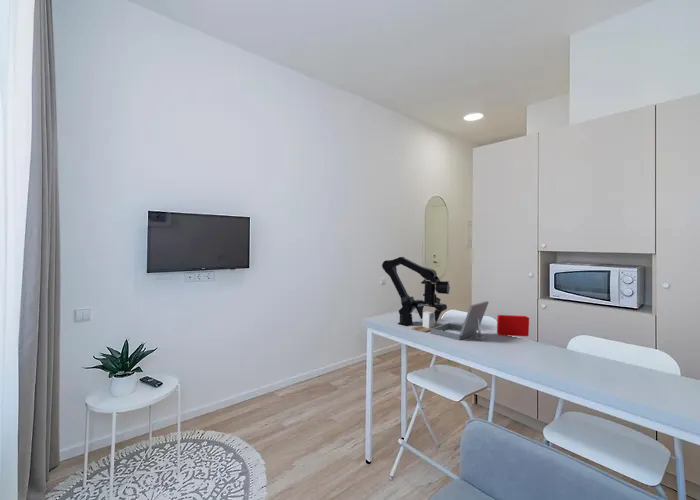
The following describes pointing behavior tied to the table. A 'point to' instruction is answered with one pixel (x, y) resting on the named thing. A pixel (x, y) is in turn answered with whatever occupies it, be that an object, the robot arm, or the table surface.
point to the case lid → (473, 317)
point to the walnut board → (423, 329)
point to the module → (428, 319)
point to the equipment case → (452, 335)
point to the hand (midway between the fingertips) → (428, 320)
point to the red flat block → (512, 325)
